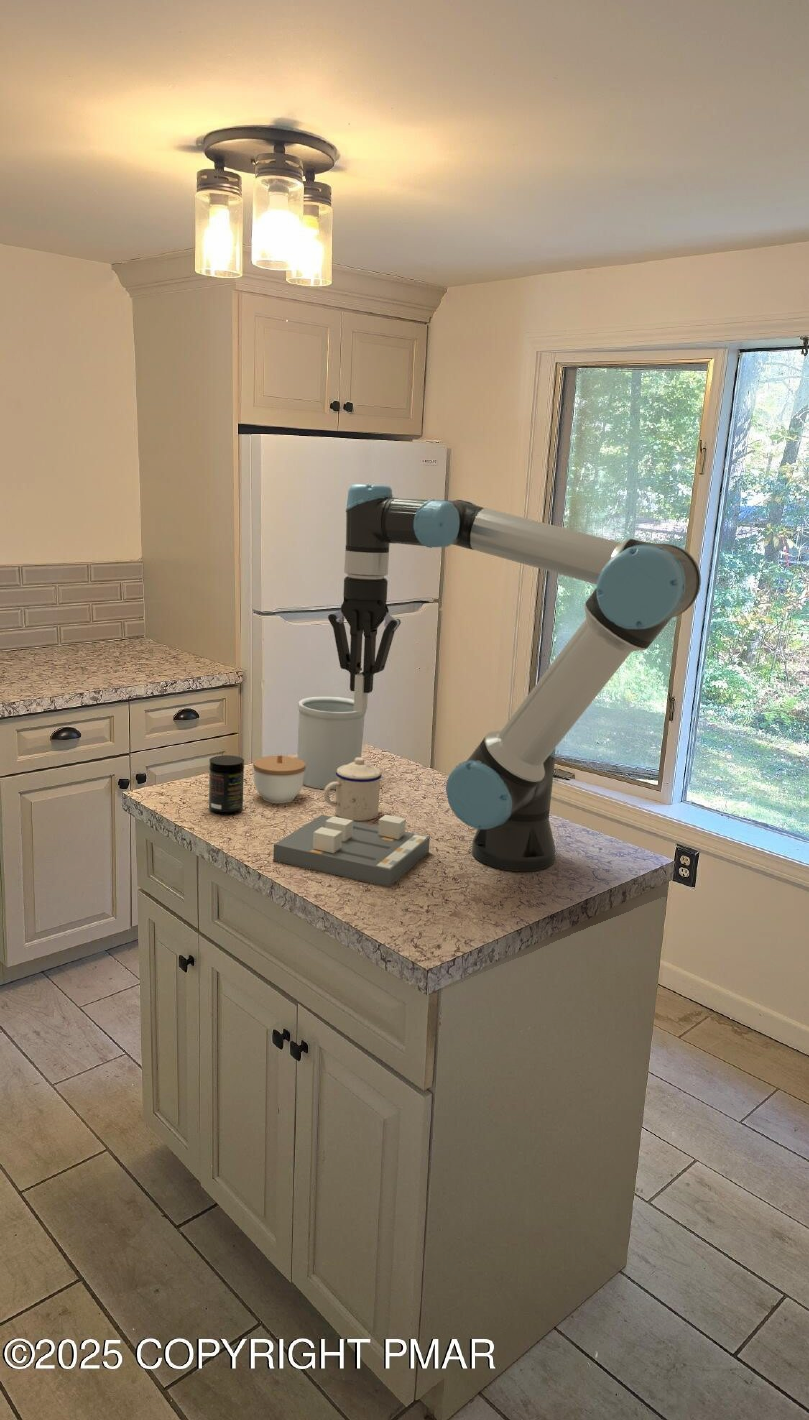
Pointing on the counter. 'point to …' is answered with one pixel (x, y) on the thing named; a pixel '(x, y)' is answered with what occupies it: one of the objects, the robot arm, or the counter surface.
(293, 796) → the lidded jar
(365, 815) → the teacup with lid
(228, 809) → the supplement container
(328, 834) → the front switch
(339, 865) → the switch panel
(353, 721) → the utensil holder
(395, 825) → the back switch
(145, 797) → the counter surface
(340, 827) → the middle switch
